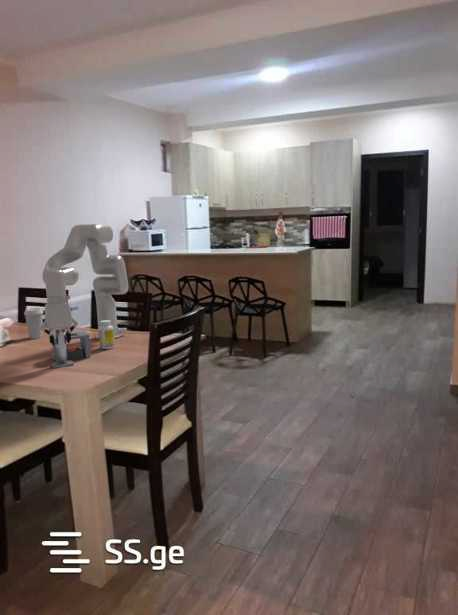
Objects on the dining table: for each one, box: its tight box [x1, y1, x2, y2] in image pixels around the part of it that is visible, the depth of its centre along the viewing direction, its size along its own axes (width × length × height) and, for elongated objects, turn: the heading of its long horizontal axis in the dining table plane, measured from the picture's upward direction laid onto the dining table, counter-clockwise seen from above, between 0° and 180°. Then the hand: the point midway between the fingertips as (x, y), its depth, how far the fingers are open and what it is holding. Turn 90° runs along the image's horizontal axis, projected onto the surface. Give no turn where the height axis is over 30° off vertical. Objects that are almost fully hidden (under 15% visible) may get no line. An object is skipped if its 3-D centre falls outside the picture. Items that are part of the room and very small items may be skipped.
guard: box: [52, 330, 92, 362], centre depth 219 cm, size 14×9×10 cm, turn 119°
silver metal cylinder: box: [54, 328, 68, 364], centre depth 207 cm, size 4×4×14 cm
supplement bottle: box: [98, 320, 115, 350], centre depth 234 cm, size 7×7×13 cm
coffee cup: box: [23, 307, 44, 340], centre depth 262 cm, size 10×10×15 cm
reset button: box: [67, 346, 78, 352], centre depth 219 cm, size 5×5×3 cm
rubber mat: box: [50, 360, 75, 369], centre depth 208 cm, size 8×6×1 cm
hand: (60, 343), depth 207 cm, fingers open, 5 cm apart
